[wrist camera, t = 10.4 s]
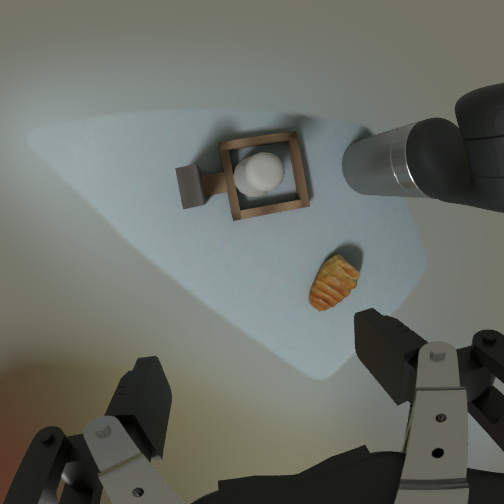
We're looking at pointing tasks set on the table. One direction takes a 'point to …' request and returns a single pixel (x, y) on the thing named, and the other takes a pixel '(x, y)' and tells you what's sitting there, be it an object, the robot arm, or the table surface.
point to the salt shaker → (259, 174)
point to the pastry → (333, 283)
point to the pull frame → (201, 186)
